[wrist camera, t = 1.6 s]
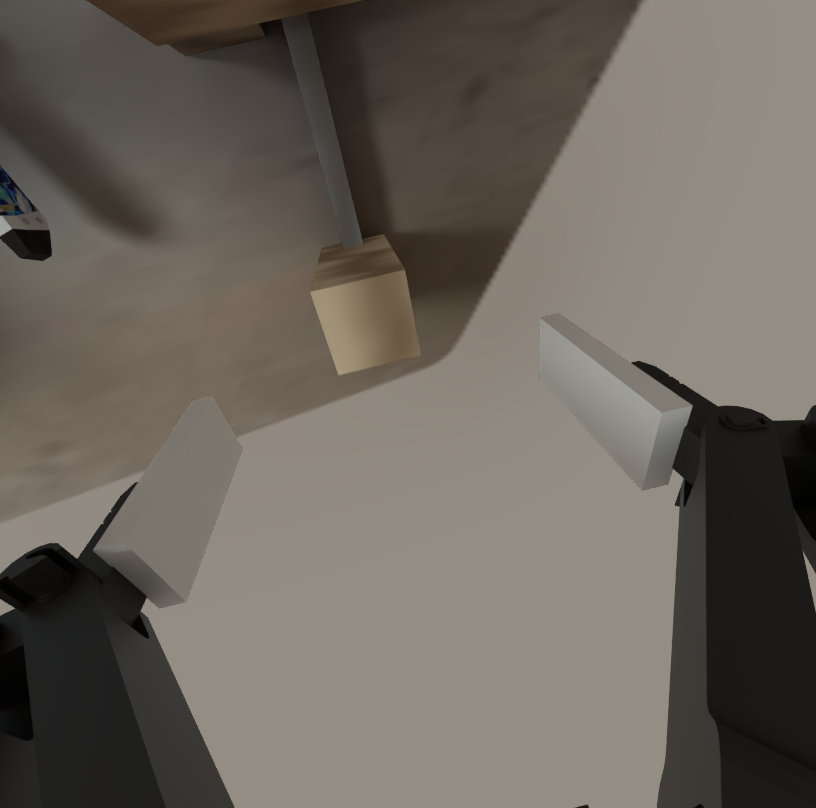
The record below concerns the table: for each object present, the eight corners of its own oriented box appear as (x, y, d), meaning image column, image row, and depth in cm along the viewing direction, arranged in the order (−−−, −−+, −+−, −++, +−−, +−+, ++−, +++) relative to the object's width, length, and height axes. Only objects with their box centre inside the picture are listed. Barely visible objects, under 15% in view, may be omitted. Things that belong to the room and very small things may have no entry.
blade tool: (340, 309, 31) (338, 375, 21) (226, -63, 20) (106, -300, 10) (396, 295, 31) (421, 355, 21) (317, -83, 20) (291, -338, 10)
